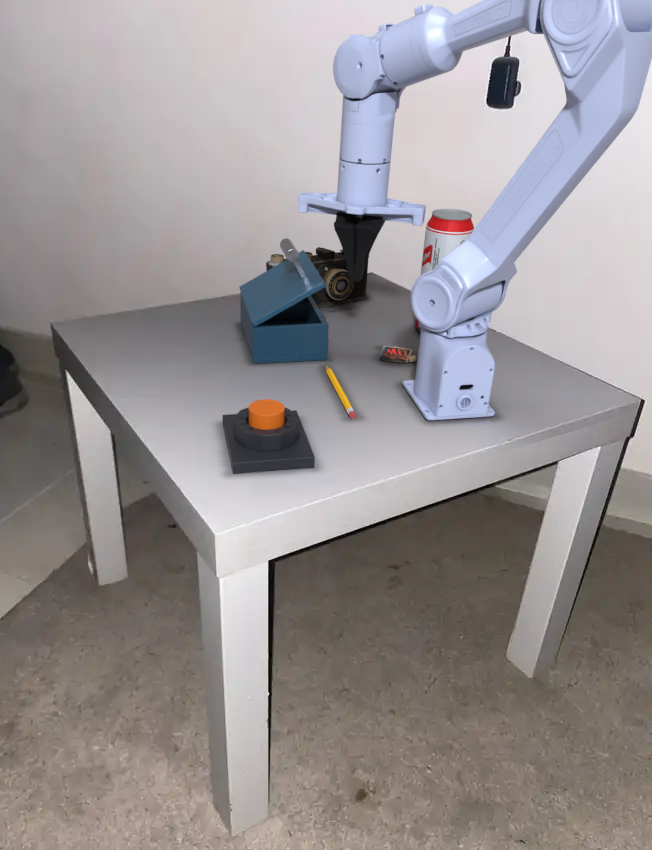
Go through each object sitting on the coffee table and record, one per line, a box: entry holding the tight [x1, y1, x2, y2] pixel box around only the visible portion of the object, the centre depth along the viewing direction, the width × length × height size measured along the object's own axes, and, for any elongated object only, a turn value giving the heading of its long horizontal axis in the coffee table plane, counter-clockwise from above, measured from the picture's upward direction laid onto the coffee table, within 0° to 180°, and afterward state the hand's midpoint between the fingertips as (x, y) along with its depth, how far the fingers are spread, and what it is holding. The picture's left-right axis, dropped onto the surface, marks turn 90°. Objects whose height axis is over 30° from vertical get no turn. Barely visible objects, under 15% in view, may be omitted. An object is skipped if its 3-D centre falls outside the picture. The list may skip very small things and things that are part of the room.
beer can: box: [415, 208, 475, 333], centre depth 103 cm, size 6×6×16 cm
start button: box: [248, 398, 286, 430], centre depth 77 cm, size 4×4×2 cm
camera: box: [265, 246, 370, 308], centre depth 113 cm, size 16×7×8 cm, turn 117°
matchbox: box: [379, 345, 417, 364], centre depth 99 cm, size 5×5×1 cm
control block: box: [222, 406, 316, 475], centre depth 78 cm, size 10×8×3 cm
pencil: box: [325, 365, 357, 420], centre depth 90 cm, size 1×13×1 cm, turn 12°
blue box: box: [239, 291, 329, 364], centre depth 101 cm, size 9×13×5 cm
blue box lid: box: [239, 237, 326, 327], centre depth 98 cm, size 10×13×5 cm
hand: (355, 278), depth 93 cm, fingers closed
